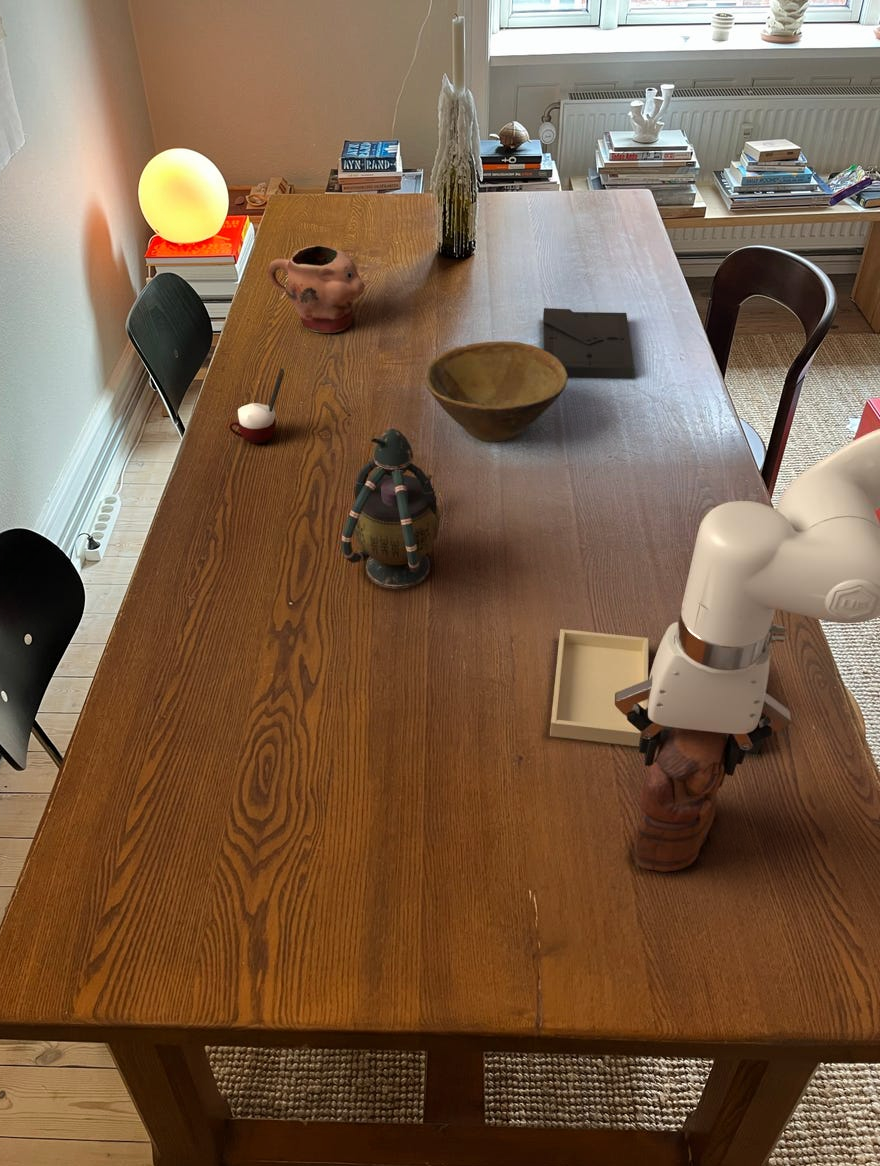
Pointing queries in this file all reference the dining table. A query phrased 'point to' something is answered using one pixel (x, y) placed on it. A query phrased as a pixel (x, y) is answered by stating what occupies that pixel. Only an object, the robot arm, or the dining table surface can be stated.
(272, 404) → the cocoa
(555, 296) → the dining table surface
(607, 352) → the dark brown flat slab
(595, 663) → the pale tray
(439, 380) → the bowl
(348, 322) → the sculpted clay mug
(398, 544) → the green octopus jar
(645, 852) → the wooden figurine
